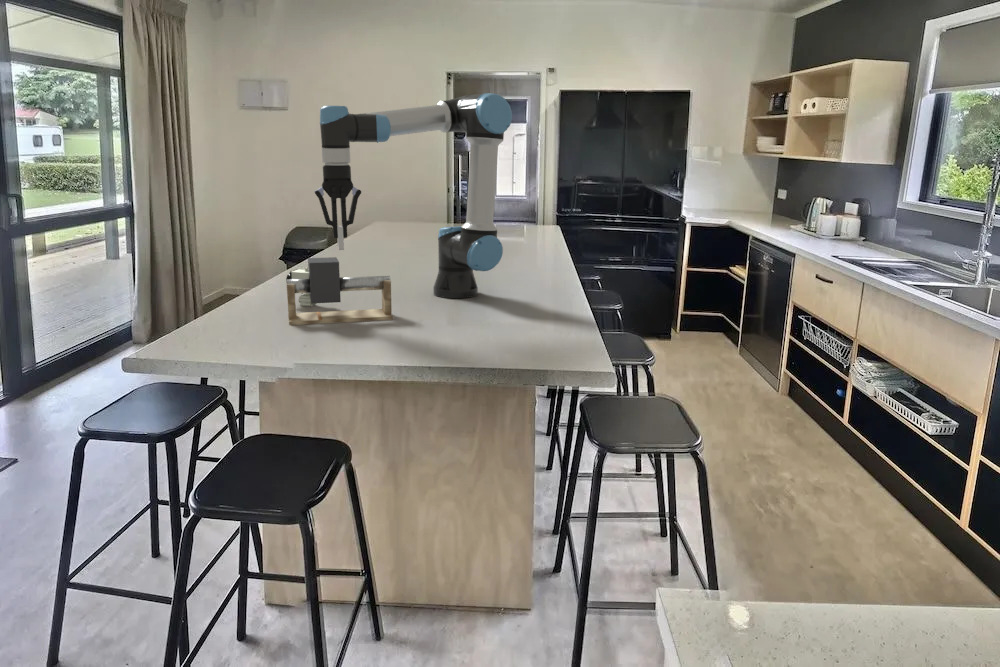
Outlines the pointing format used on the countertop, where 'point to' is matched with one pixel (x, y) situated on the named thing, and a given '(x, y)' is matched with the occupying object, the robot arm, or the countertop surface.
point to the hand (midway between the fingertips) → (340, 249)
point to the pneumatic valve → (301, 274)
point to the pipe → (344, 283)
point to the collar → (324, 280)
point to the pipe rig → (340, 315)
